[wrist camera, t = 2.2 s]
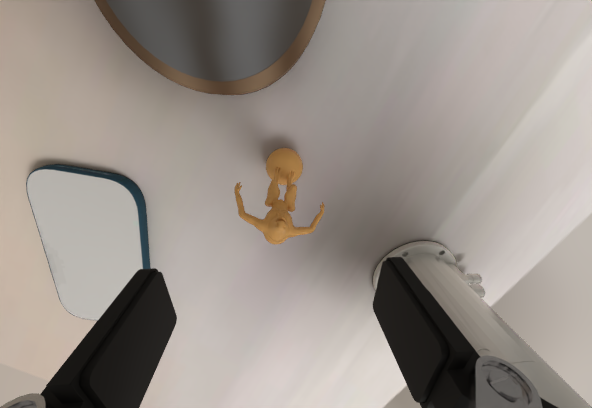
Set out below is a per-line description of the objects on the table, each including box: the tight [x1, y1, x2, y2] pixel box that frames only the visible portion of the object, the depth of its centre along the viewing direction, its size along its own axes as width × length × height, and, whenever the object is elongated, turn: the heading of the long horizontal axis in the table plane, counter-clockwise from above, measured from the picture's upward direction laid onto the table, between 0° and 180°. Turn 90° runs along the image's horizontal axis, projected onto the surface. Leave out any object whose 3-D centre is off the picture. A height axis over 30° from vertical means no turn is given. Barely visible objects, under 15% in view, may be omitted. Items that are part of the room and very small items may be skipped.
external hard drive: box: [26, 164, 150, 320], centre depth 29 cm, size 24×12×2 cm, turn 168°
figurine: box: [235, 148, 324, 244], centre depth 21 cm, size 8×6×12 cm
